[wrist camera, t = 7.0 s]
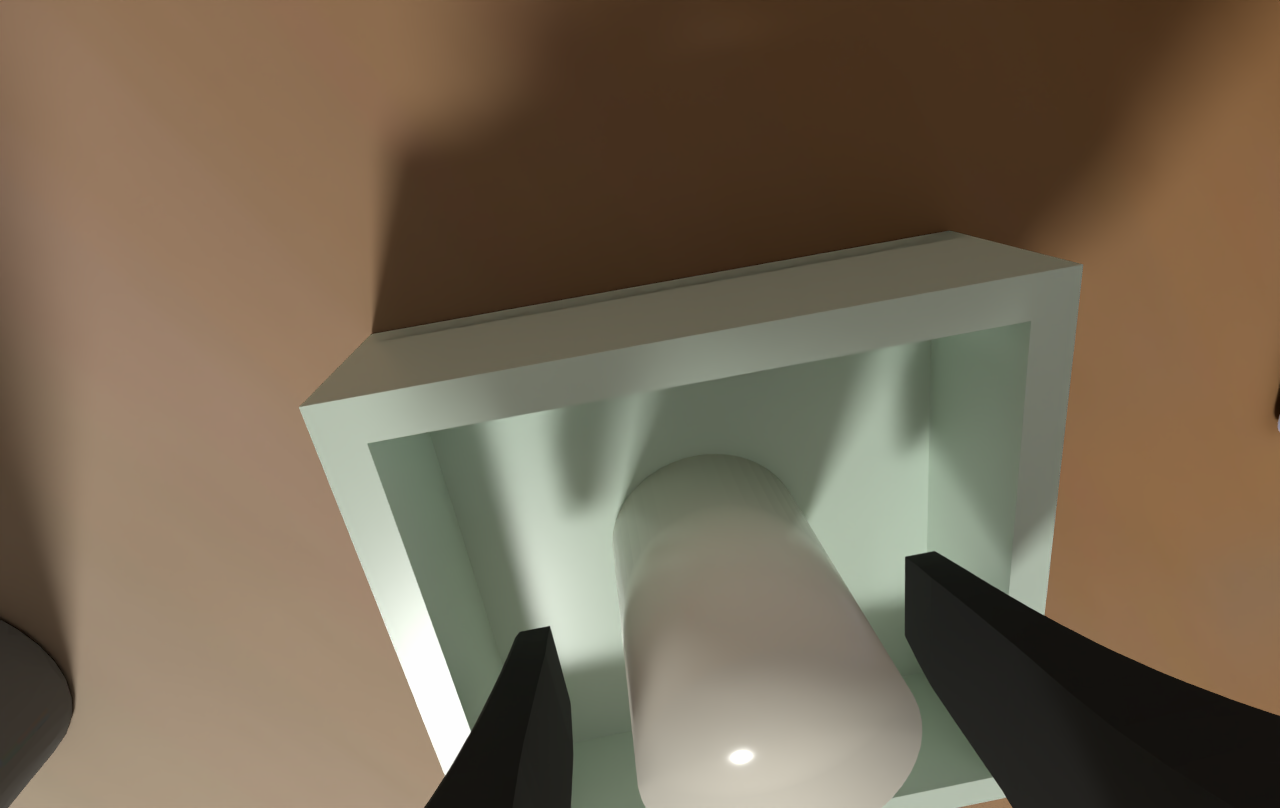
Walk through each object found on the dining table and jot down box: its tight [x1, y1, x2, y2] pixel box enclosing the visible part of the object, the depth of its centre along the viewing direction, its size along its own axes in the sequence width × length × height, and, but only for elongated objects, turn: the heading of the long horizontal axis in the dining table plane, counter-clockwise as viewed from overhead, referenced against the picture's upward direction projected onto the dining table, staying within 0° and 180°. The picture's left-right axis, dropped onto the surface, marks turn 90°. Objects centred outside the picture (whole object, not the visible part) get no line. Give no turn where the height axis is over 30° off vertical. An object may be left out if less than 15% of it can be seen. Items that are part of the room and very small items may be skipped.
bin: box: [299, 231, 1083, 808], centre depth 15 cm, size 13×13×4 cm
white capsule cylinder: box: [612, 454, 922, 808], centre depth 13 cm, size 4×4×6 cm
